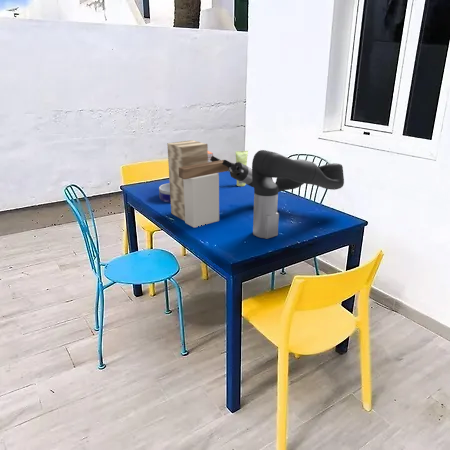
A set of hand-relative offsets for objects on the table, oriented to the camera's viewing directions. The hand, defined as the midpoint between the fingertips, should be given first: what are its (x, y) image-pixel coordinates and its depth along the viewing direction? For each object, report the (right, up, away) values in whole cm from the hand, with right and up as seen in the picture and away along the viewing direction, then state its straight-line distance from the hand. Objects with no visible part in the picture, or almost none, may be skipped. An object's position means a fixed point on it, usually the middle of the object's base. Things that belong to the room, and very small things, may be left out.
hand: (217, 159), depth 164 cm
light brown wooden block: (-5, -6, -2) cm, 8 cm away
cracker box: (-8, -7, +51) cm, 52 cm away
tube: (+13, -5, +56) cm, 58 cm away
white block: (-7, -26, +5) cm, 27 cm away
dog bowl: (-22, -14, +36) cm, 45 cm away
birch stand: (-13, -22, +14) cm, 29 cm away
